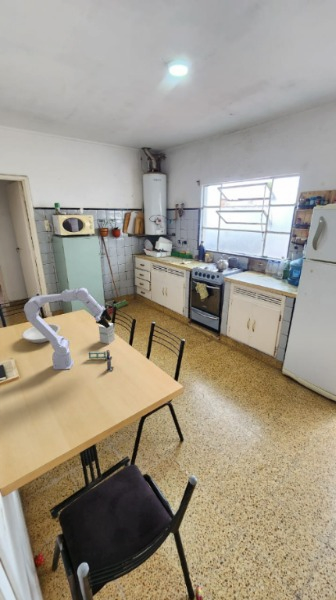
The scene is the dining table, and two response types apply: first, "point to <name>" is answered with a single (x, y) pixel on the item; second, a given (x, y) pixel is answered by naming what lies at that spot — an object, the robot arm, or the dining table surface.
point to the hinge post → (108, 355)
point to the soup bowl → (38, 334)
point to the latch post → (109, 366)
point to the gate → (97, 355)
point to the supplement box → (106, 333)
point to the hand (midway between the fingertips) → (109, 323)
